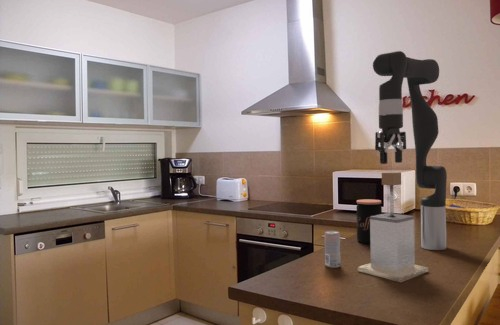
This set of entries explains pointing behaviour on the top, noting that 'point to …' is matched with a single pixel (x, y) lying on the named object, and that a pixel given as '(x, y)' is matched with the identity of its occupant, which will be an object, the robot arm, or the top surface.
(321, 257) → the top surface
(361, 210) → the coffee jar
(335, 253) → the energy drink
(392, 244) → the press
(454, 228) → the top surface
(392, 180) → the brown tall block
